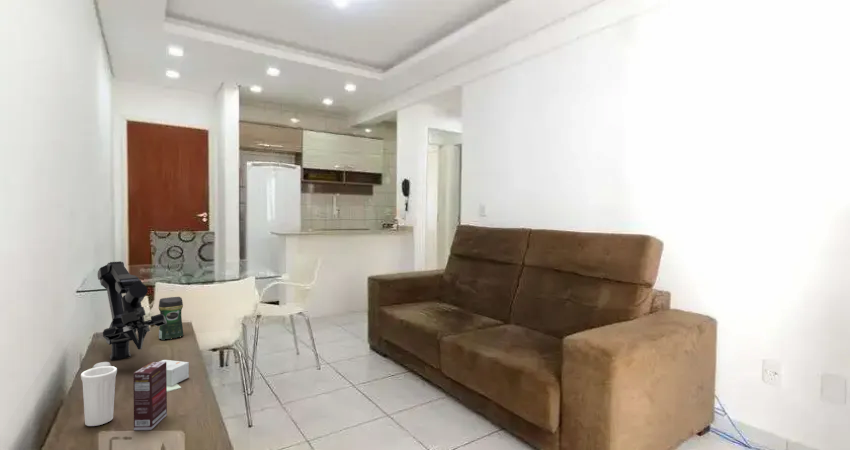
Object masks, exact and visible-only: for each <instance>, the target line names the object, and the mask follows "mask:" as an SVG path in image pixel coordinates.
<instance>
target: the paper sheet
mask: <svg viewBox="0 0 850 450" xmlns="http://www.w3.org/2000/svg"><path fill="white" fill-rule="evenodd" d="M179 389H182V386H180V385H179V383H177V384H175V385H173V386H167V393H168V392H172V391H176V390H179Z"/></svg>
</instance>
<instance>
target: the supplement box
mask: <svg viewBox="0 0 850 450" xmlns="http://www.w3.org/2000/svg"><path fill="white" fill-rule="evenodd" d="M132 381H133V431H152V430H153V429H154V428H155V427H157V425H158V424H159V423H160V422H161V421H162V420H163V419H164V418H165V417H167V416H168V405H167V404H168V402H167V401H168V400H167V399H168V398H167V394H168V392H167V374H166V362H159V361H149V362H148V363H147V364H145V365H144V366H142V367H140V368H139V369H138V370H135V371H134V372H133V380H132Z"/></svg>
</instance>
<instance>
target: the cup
mask: <svg viewBox="0 0 850 450" xmlns="http://www.w3.org/2000/svg"><path fill="white" fill-rule="evenodd" d="M117 373H118V368H117V367H115V366H114V365H113V366H112V365H111V366H102V367H96V368H93V367H92V368H88V369H87V370H84V371H83V372H81V373H80V379H81V381H82V396H83V412H84V426H87V427H95V426H100V425H103V424H107V423H108V422H110V421H112V420H113V419H114V408H115V395H116V394H115V391H116V389H115V388H116V375H117Z"/></svg>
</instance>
